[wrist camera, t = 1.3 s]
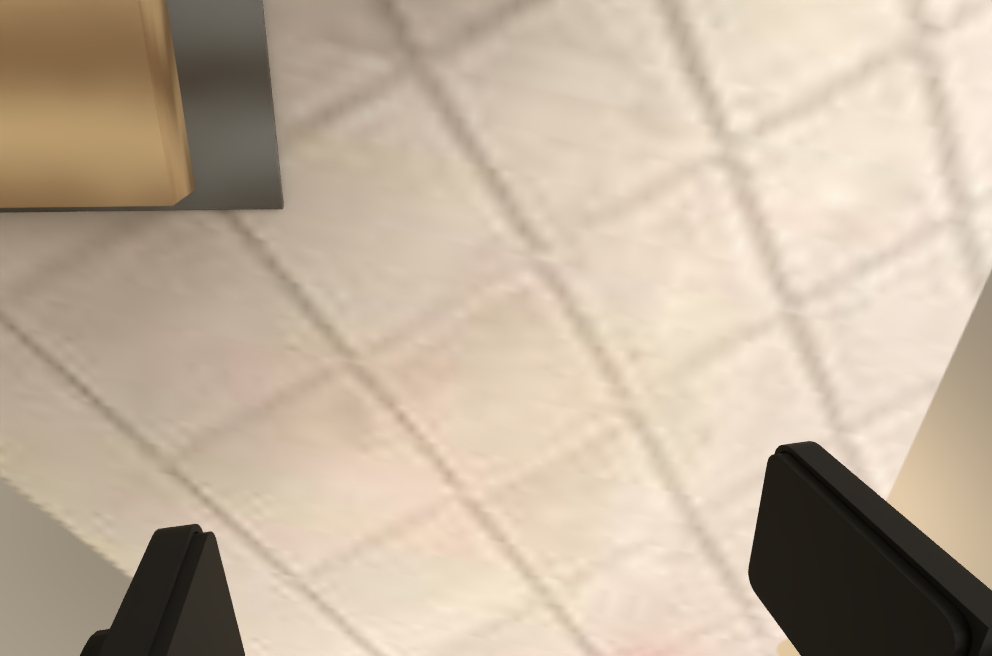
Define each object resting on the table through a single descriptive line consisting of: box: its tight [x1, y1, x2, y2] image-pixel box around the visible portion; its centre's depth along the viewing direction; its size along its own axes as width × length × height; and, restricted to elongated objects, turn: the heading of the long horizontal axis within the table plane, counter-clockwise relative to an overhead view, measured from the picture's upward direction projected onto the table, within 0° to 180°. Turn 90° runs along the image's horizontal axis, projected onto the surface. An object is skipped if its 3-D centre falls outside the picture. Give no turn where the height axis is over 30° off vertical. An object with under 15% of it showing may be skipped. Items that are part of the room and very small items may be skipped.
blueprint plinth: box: [0, 0, 284, 212], centre depth 26 cm, size 14×20×4 cm
